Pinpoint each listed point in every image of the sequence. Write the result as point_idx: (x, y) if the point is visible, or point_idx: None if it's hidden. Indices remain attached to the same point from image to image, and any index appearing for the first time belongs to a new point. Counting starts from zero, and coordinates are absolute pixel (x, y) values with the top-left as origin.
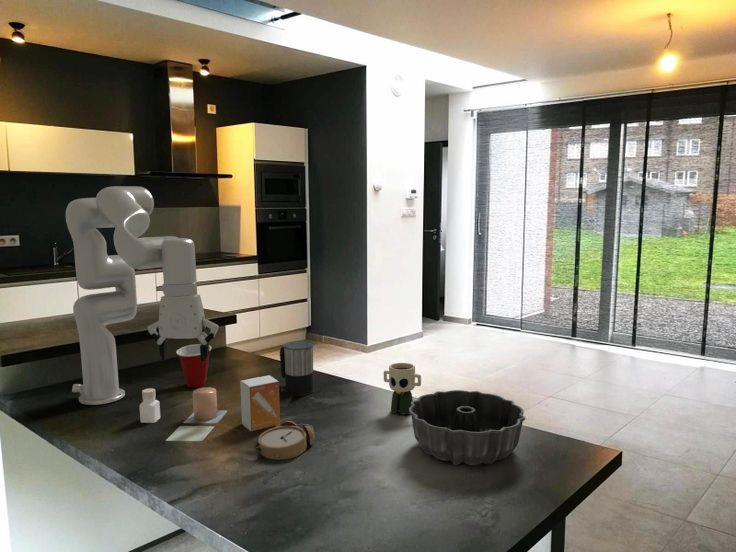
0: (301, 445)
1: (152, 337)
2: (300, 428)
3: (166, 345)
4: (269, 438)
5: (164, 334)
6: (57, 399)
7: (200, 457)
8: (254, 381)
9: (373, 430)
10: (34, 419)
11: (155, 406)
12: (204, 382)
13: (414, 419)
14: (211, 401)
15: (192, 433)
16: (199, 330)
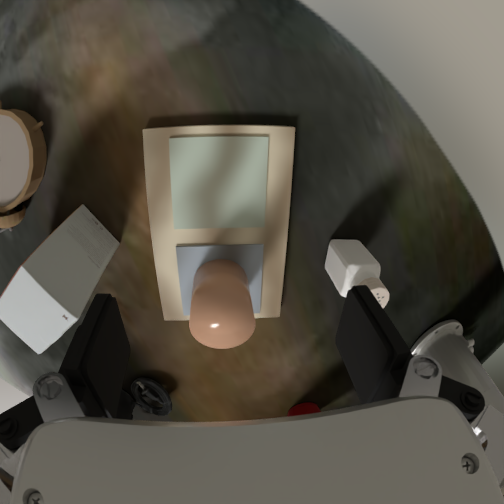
0: None
1: (472, 389)
2: None
3: (370, 379)
4: (17, 155)
5: (425, 420)
6: (479, 328)
7: (155, 82)
8: (35, 308)
9: None
10: (501, 262)
11: (343, 271)
12: (288, 414)
13: None
14: (195, 296)
15: (213, 182)
16: (16, 472)
